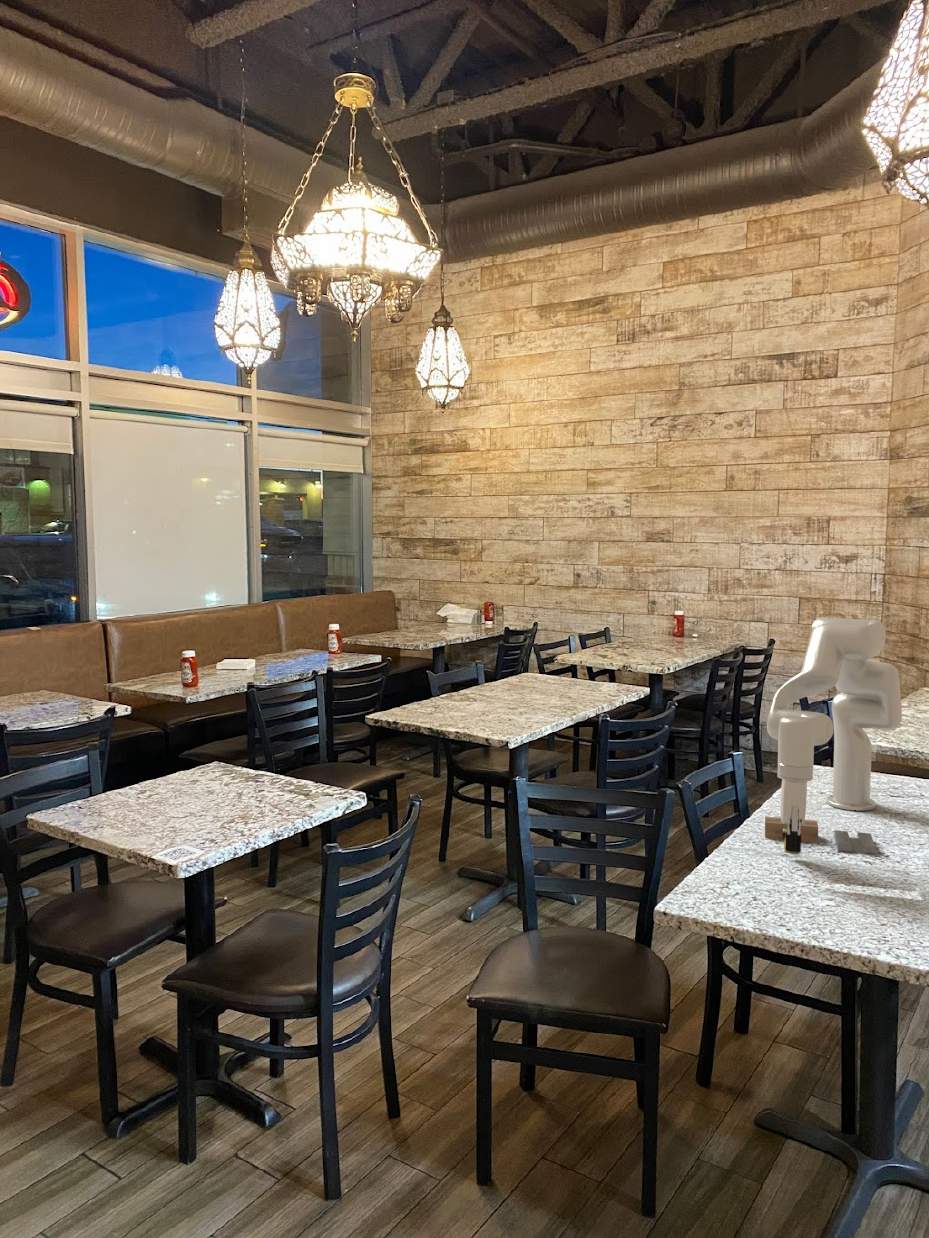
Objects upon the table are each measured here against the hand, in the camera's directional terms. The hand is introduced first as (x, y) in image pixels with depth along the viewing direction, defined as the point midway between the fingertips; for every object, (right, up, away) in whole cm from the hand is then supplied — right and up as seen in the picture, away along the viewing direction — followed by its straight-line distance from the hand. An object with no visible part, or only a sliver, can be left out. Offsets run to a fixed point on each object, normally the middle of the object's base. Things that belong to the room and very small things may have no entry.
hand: (793, 850), depth 199 cm
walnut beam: (+5, -2, +15) cm, 16 cm away
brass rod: (+3, -1, +11) cm, 11 cm away
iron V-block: (+18, -2, +8) cm, 20 cm away
